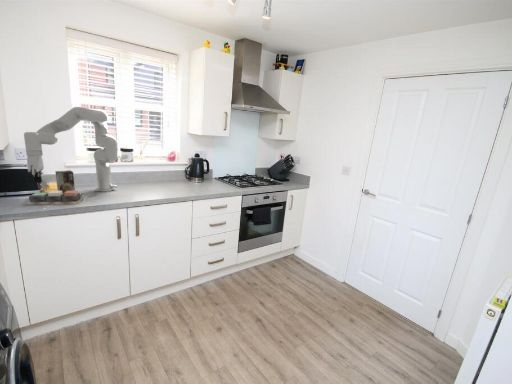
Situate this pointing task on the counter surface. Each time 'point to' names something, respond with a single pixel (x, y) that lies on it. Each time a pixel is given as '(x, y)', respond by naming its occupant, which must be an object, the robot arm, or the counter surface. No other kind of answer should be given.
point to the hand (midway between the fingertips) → (38, 182)
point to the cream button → (55, 193)
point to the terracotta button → (71, 193)
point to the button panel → (55, 199)
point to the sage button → (39, 194)
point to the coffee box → (65, 181)
